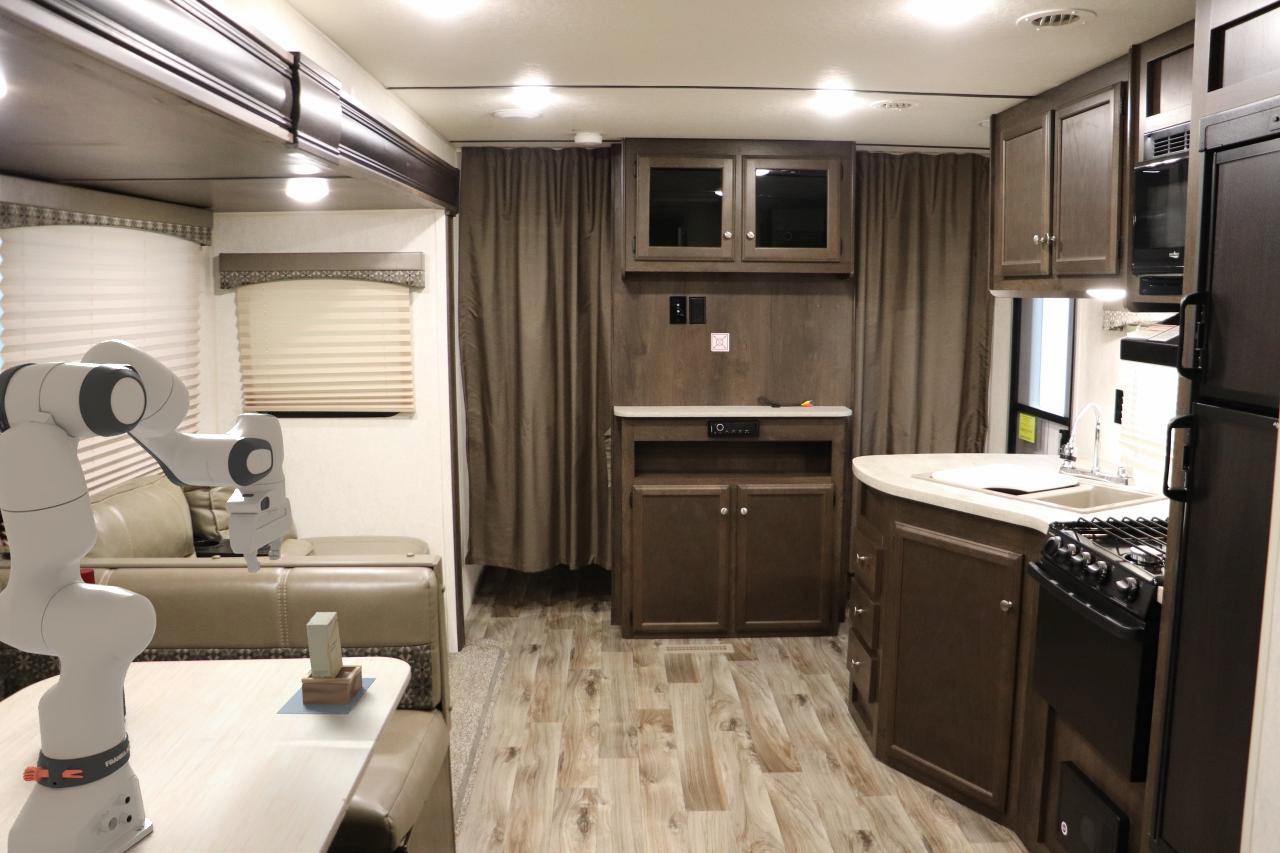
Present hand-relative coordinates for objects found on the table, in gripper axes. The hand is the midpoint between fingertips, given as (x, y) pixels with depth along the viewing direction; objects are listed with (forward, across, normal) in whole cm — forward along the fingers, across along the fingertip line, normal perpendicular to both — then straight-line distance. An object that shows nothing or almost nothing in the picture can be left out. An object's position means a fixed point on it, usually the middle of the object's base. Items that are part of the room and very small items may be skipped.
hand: (264, 565), depth 195 cm
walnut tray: (+28, -4, +11) cm, 30 cm away
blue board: (+29, -4, +10) cm, 31 cm away
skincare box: (+23, -4, +10) cm, 26 cm away
